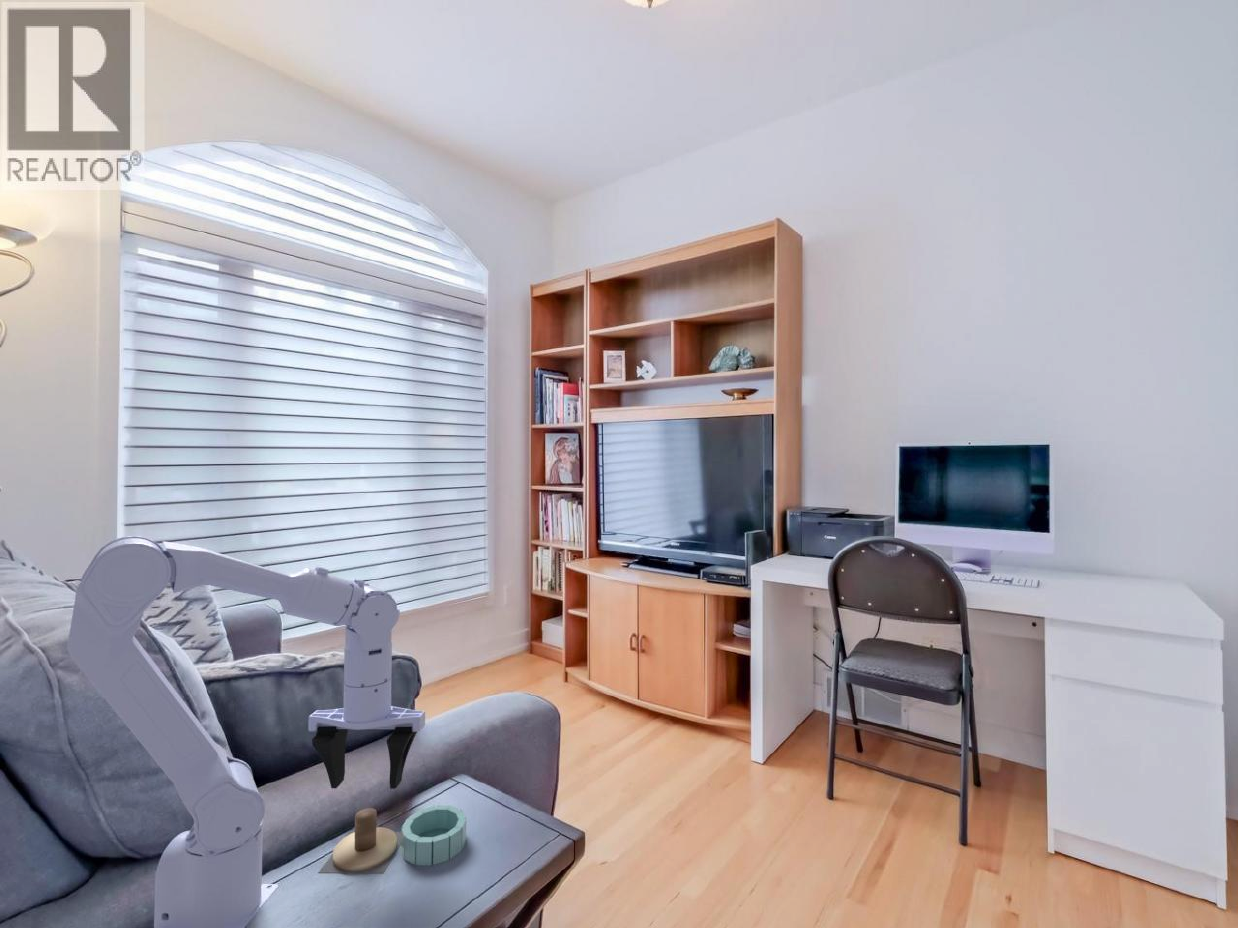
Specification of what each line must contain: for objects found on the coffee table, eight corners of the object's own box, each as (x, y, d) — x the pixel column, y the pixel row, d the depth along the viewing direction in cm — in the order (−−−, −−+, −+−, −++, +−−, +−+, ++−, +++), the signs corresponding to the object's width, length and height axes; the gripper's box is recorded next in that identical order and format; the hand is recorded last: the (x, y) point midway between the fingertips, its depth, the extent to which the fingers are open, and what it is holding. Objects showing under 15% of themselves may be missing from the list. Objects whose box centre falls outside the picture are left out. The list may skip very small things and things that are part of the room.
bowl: (392, 867, 71) (392, 841, 71) (415, 828, 79) (415, 805, 79) (455, 868, 71) (455, 842, 71) (472, 828, 79) (472, 805, 79)
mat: (318, 875, 70) (318, 872, 70) (349, 834, 78) (349, 831, 78) (383, 875, 70) (383, 872, 70) (407, 835, 78) (407, 832, 78)
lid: (320, 871, 70) (321, 831, 70) (350, 832, 78) (350, 797, 78) (382, 871, 70) (382, 832, 70) (405, 832, 78) (406, 797, 78)
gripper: (433, 669, 78) (432, 768, 78) (328, 669, 78) (327, 768, 78) (414, 688, 71) (413, 797, 71) (299, 688, 71) (298, 797, 71)
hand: (366, 784), depth 74 cm, fingers open, 7 cm apart
